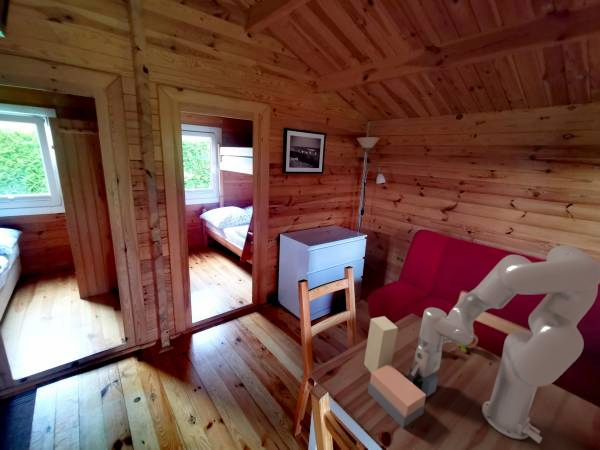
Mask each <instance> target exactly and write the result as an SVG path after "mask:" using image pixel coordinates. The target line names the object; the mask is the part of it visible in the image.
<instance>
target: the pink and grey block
mask: <svg viewBox="0 0 600 450" xmlns="http://www.w3.org/2000/svg"><path fill="white" fill-rule="evenodd" d="M367 387H368V388H367V393H368V394H369V395H370V396H371V397H372V398H373V399H374V400H375V401H376V402H377V403H378V405H380V406H381V408H382V409H383V410H385V412H386V413H387V414H388V415H389V416H390V417H391V418H392V419H393V420H394V421H395V422H396V423H397V424H398V425H399V426H400V427H401V428H402V429H403V428H405V427H406V426H408V425H410V423H412V422H414V421H415V420H417V419H418V418H420V417H421V416H422V415H423V414H424V410H425V405H426V404H425V401H426V397H427V396H426V394H425V393H423V392H422V391H421V390H420V389H419V388H418V387H416V386H415V385H414V384H413V383H412V382H410V381H409V380H408V378H407V377H405V376H404V374H402V373H401V372H400V371H398V370H397V369H396V368H395V367H393V366H392V364H391V365H390V364H388V365H386V366H384V367H382V368H380V369H378V370H376V371H374V372H372V373H370V381H369V382H368V386H367Z"/></svg>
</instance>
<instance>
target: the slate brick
mask: <svg viewBox="0 0 600 450" xmlns="http://www.w3.org/2000/svg"><path fill="white" fill-rule="evenodd" d="M412 371H413V365H411V366H410V368H409V374H408V378H407V379H408V380H409V381H410V382H412V383H413V379H414V377H413V376H411V372H412ZM417 376H419V377H420V374H419V373H417ZM438 381H439V376H437V375H436V374H435V373H434V374H433V373H432V374H431V375H429V376H427V377H423V379H422V382H423V383H422V388H421V391H422V392H423V393H425V394H426V397H429V396H431V394H434V393H436V391H437V386H438Z"/></svg>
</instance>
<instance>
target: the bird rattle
mask: <svg viewBox="0 0 600 450" xmlns="http://www.w3.org/2000/svg"><path fill="white" fill-rule="evenodd" d="M473 335H474V337H473V340H472V342H471V343H470V344H468V345H460V344H457V343H455V344H456V347H461V348H460V350H461V351H462V352H463V353H464V352H465V353H467V348H469V349H472V348H473V347H475V346H476V345H477V344H478V342H479V338H478V336H477V335H476V333H475V328H473Z"/></svg>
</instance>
